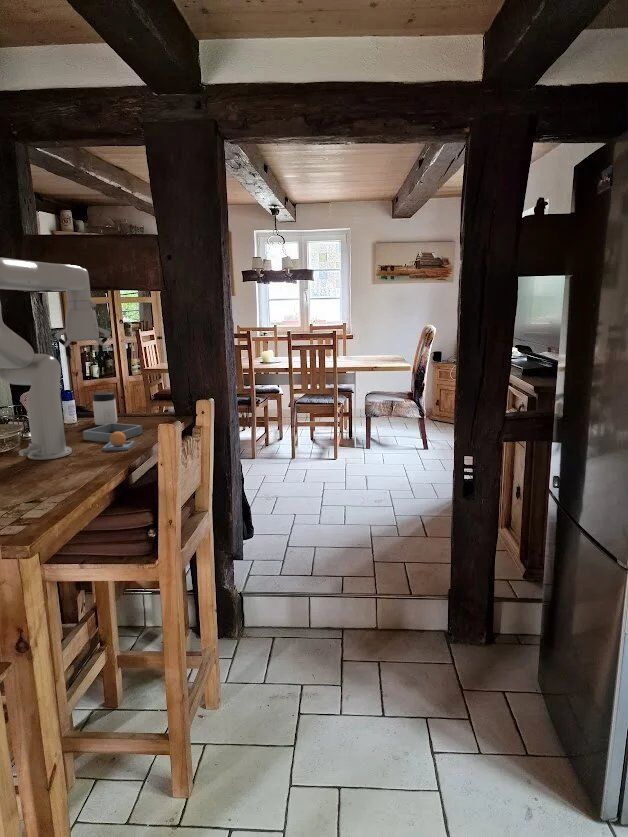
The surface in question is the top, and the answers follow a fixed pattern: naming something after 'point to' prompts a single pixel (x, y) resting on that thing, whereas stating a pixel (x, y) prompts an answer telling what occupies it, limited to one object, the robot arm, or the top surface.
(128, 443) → the coaster
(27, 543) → the top surface
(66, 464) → the top surface
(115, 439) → the ball
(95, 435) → the grey square tray
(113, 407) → the jar
